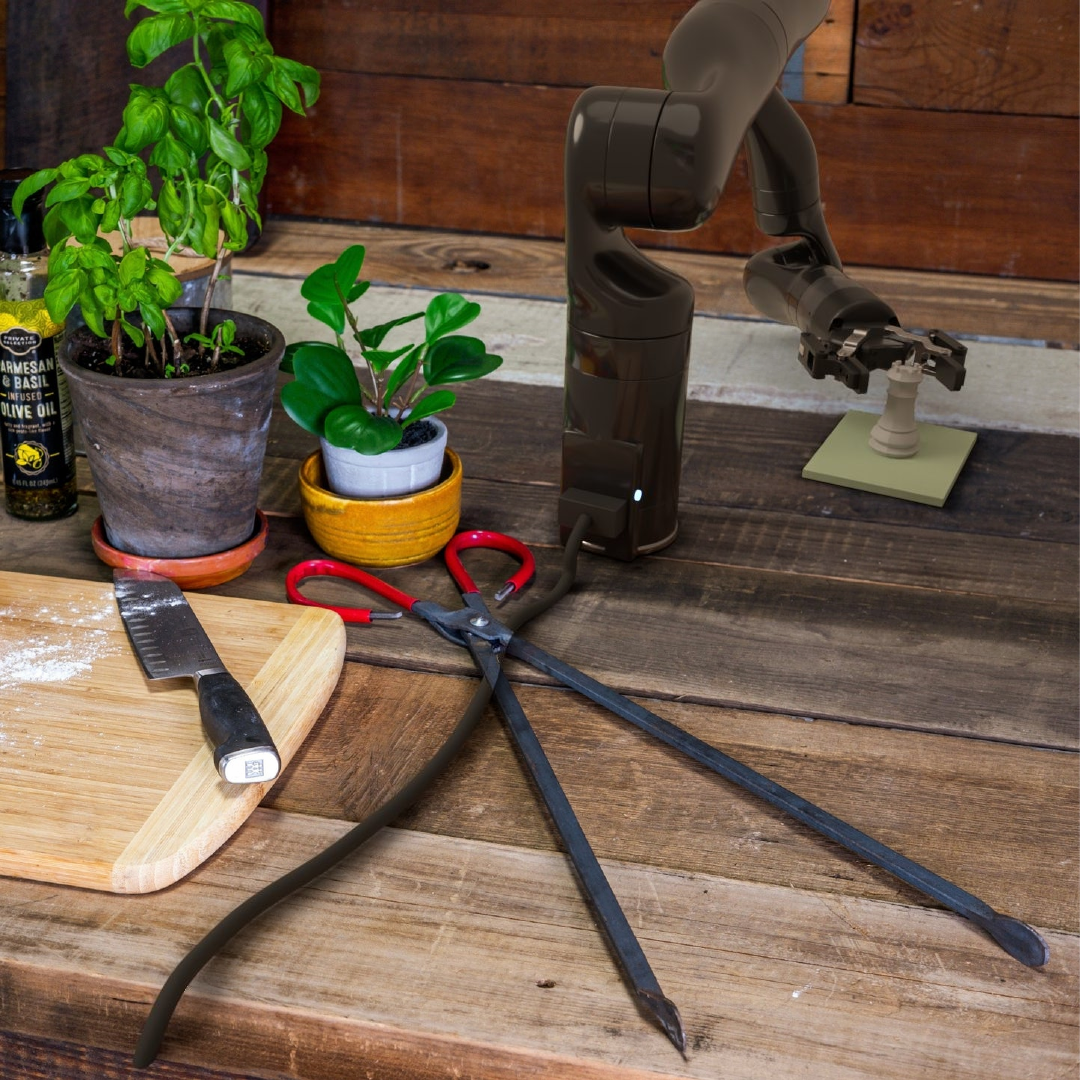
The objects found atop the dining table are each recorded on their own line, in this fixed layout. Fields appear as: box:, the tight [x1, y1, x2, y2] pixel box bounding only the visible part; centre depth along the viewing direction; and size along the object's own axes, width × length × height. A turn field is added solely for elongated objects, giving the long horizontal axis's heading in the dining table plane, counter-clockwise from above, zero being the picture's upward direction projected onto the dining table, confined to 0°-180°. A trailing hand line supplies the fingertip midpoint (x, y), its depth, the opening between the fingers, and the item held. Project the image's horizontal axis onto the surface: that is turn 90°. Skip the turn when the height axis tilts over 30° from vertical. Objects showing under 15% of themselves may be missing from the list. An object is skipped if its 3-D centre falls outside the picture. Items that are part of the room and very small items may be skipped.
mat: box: [801, 408, 978, 508], centre depth 113 cm, size 16×12×1 cm
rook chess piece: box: [868, 360, 925, 458], centre depth 111 cm, size 4×4×8 cm
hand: (912, 382), depth 108 cm, fingers open, 8 cm apart
